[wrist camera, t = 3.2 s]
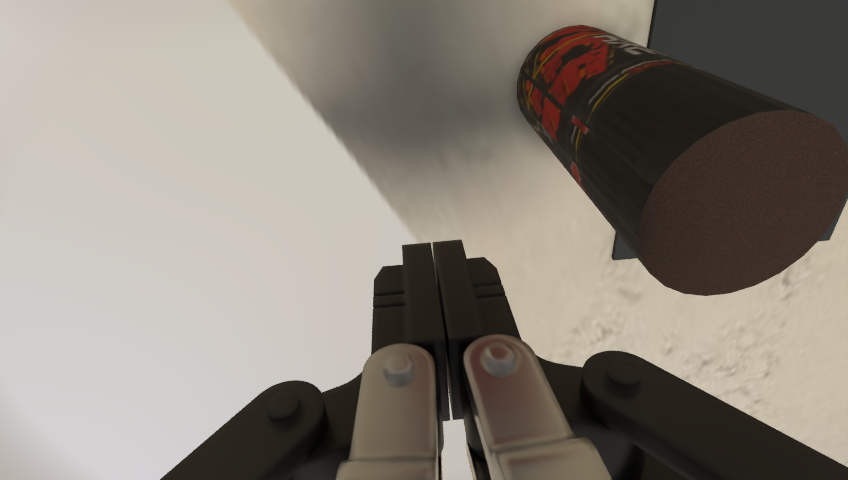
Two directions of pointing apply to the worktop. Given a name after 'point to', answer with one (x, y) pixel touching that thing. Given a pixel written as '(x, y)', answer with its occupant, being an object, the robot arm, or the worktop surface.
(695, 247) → the deodorant
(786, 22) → the mat
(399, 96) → the worktop surface
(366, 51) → the worktop surface
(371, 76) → the worktop surface
